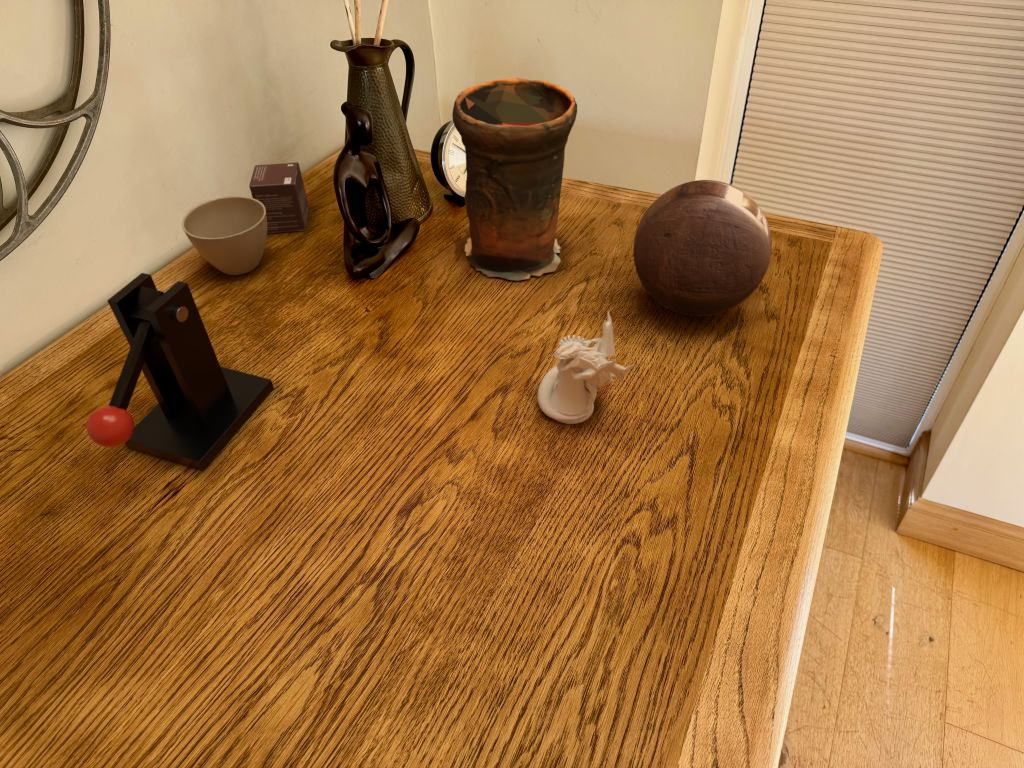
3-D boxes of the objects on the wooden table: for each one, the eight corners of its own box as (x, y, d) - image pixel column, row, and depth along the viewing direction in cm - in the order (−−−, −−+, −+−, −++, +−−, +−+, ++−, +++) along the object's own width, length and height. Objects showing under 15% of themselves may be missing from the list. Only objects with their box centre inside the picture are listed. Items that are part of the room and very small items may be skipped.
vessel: (579, 227, 99) (587, 79, 86) (560, 288, 89) (565, 131, 75) (477, 216, 102) (469, 71, 88) (448, 274, 92) (434, 120, 78)
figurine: (523, 399, 75) (522, 307, 67) (582, 371, 78) (588, 279, 70) (587, 465, 69) (595, 372, 60) (649, 431, 72) (664, 338, 63)
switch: (134, 454, 64) (104, 448, 60) (102, 444, 65) (70, 438, 61) (189, 303, 66) (163, 290, 63) (157, 296, 67) (130, 282, 63)
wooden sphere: (768, 343, 81) (803, 225, 71) (634, 343, 81) (649, 226, 71) (741, 266, 92) (767, 155, 82) (622, 267, 92) (634, 156, 82)
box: (267, 212, 104) (254, 164, 99) (310, 209, 104) (299, 161, 99) (261, 234, 99) (247, 186, 94) (306, 231, 100) (294, 182, 95)
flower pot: (185, 266, 94) (166, 217, 89) (252, 235, 99) (237, 187, 94) (226, 297, 89) (208, 247, 84) (294, 262, 94) (281, 213, 89)
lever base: (203, 471, 69) (142, 344, 58) (127, 448, 71) (54, 321, 60) (274, 388, 77) (232, 263, 66) (204, 370, 79) (152, 246, 68)
